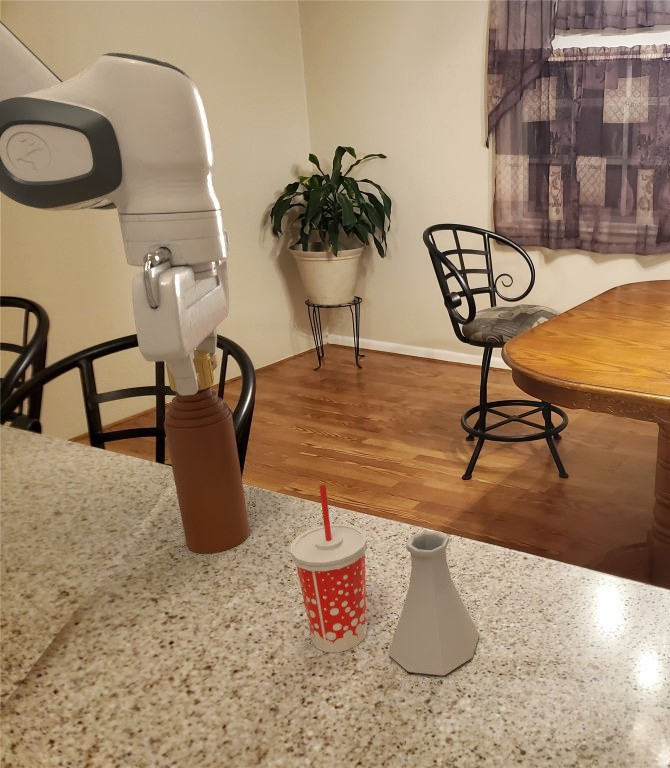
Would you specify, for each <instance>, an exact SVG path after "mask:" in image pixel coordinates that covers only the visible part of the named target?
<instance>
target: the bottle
mask: <svg viewBox="0 0 670 768" xmlns="http://www.w3.org/2000/svg"><path fill="white" fill-rule="evenodd" d="M167 408H168V411H167V412H166V413H165V414H164V417H165V418H164V419H165V420H163V421H164V422H163V428H164V432H165V433H164V434H165V437H166V438H165V439H166V443H167V448H168V454H169V458H170V459H169V460H170V463H171V470H172V475H173V480H174V486H175V491H176V496H177V501H178V507H179V512H180V518H181V523H182V527H183V533H184V539H185V543H186V547H187V549H188V550H190V551H191V552H192V553H193V552H194V553H197V554H215V553H220V552H225V551H228V550H230V549H233V548H235V547H237V546H239V545H241V544H242V543H244V542H245V541H246V540H247V539H248V538H249V537H250V532H251V530H250V524H249V523H250V521H249V516H248V509H247V504H246V497H245V491H244V484H243V477H242V472H241V471H242V470H241V465H240V459H239V453H238V446H237V439H236V432H235V426H234V420H233V414H232V411H231V410H230V409H229V405H228V404H227V403H225V402H224V401H223V398H222V397H219V396H218V393H217V392H216V391H213V389H212V386H210V387H208V388H205V389H202V390H198V392H197V393H196V394H194V395H184V396H182V395H179V394H178V392H176V391H175V396H174V397H173V398H172V399H171V404H170V405H169V406H168V407H167Z"/></svg>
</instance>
